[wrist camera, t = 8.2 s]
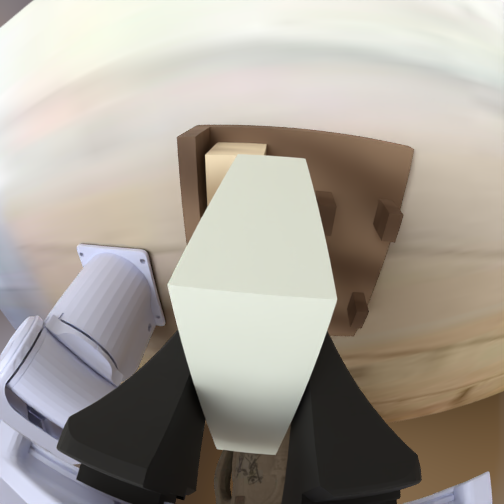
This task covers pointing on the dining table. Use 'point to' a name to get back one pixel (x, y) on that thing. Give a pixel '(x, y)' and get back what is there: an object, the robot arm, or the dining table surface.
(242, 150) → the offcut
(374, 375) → the dining table surface
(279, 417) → the panel
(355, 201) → the rack
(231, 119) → the dining table surface
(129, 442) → the robot arm
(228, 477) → the beer stein
